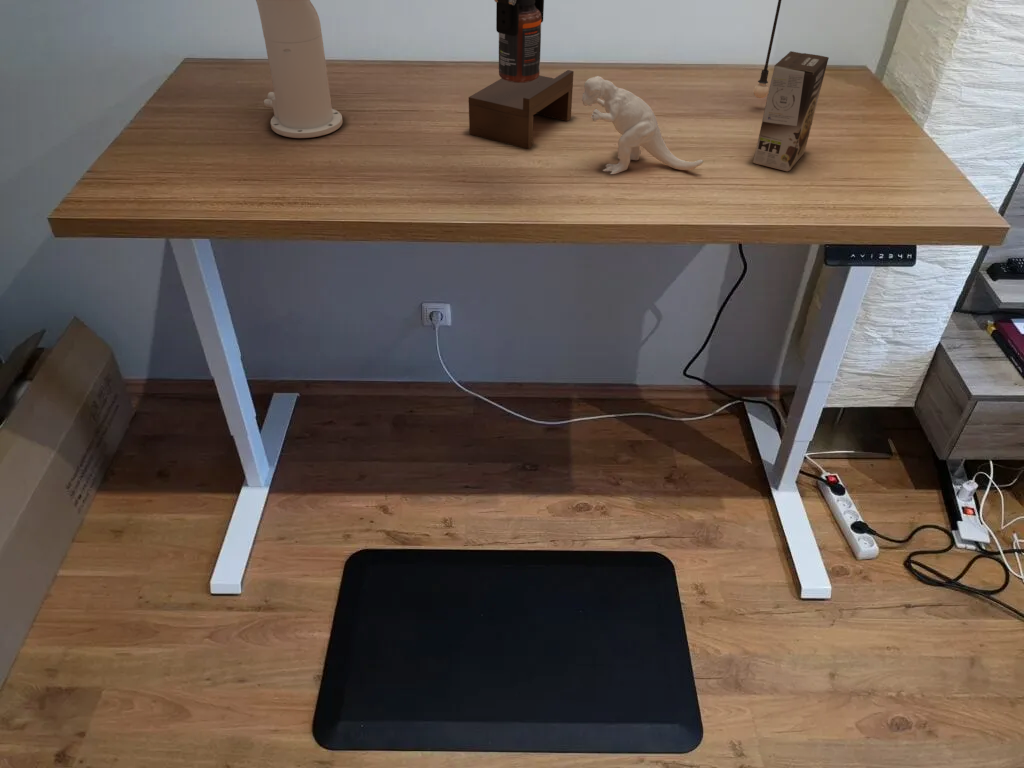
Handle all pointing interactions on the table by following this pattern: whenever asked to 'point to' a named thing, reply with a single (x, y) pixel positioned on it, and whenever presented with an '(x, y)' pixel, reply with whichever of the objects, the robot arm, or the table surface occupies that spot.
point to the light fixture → (762, 88)
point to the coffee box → (790, 110)
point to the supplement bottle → (522, 46)
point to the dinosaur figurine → (630, 125)
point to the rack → (519, 107)
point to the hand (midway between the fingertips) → (520, 26)
